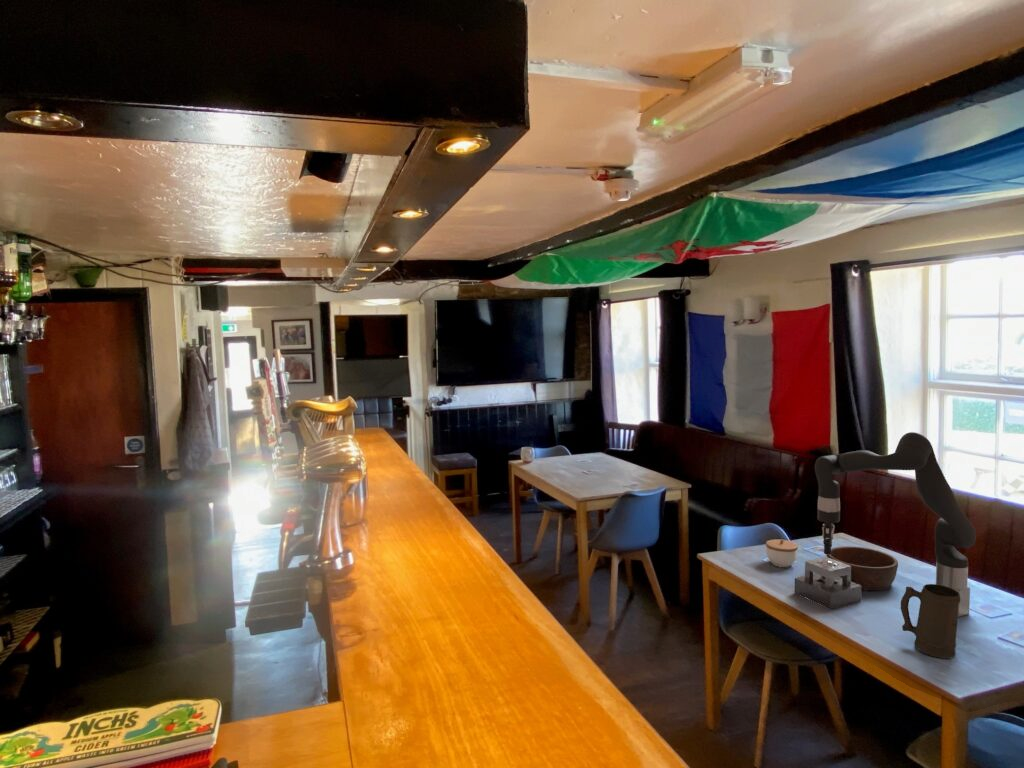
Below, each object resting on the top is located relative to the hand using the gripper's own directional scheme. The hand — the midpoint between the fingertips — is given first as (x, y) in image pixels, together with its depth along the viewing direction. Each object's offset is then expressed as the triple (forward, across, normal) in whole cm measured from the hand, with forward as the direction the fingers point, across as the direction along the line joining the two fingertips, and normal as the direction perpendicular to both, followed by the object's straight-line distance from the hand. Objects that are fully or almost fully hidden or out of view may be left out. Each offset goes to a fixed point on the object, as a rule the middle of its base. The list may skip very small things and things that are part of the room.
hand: (827, 550), depth 234 cm
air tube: (+18, 0, 0) cm, 18 cm away
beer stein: (+18, +29, +30) cm, 45 cm away
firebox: (+18, 0, 0) cm, 18 cm away
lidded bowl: (+18, -28, -19) cm, 38 cm away
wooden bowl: (+19, -23, +11) cm, 31 cm away
